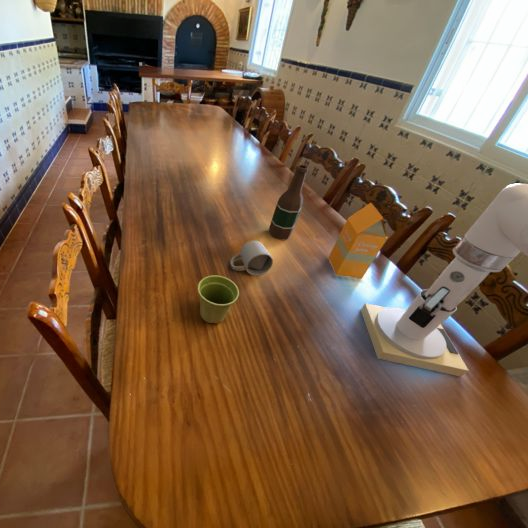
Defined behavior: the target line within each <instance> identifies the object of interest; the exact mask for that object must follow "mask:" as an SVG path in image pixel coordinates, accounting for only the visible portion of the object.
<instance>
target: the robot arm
mask: <svg viewBox="0 0 528 528" xmlns="http://www.w3.org/2000/svg"><path fill="white" fill-rule="evenodd" d="M452 253H453V255H454V256H455V257H454V259H453V260H452V261H450V263H449V264H448V265H447V266H446V268H445V269H444V270H443V271H442V272H441V273H440V275H438V277H437V278H436V280H434V281H433V283H432V285H431V286H430V287H429V288H428V289H429V290H428V291H427V292H426V294H425V296H426V298H427V297H428V298H427V299H426V300H425V301H424V302H423V303H422V305H421V306H418V308H417V309H416V310H415V311H414V312H413V313H412V315H411V316H410V317H409V319H410V320H411V321H413V322H414V323H416V324H417V325H419V326H420V327H422V328H425V327H426V326H427V325H428V324H429V323H430V322H431V320H432V319H433V318H434V317H435V316H436V315H435V314H436V313H437V312H438V311H439V310H440V309H441V308H442V307H444V308H445V309H446V310H452V309H453V308H455V307H456V306H458V305H460V304H461V303H462V302H463V301H464V300H465V299H466V298H467V297H468V296H470V294H471V293H472V292H473V291H474V290H475V289H477V287H479V285H480V284H481V283H482V282H483V281H484V280H485V279H486V278H487V277H488V276H489V274H490V273H500V272H502V271H503V270H504V269H505V268H506V267H507V266H508V265H510V263H511V262H512V261H513V260H514V259H515V258H516V257H517V256H518V255H519V254H520V253H522V254H523V255H525V256H526V257H528V183H512V184H509V185H507V186H506V187H504V188H502V190H500V192H499V193H498V194H496V196H495V198H493V200H492V201H491V202H490V204H489V205H488V206H487V208H486V209H484V211H483V212H482V213H481V215H479V216H478V218H477V219H476V220H475V222H474V223H473V224H472V225H471V227H470V228H469V229H468V230H467V232H465V234H464V235H463V236H462V238H460V240H459V241H458V242H457V243H456V245H455V246H454V247H453V248H452ZM440 301H441V302H440ZM442 302H443V303H442ZM436 304H437V305H438V307H437V308H436V309H435V306H436Z"/></svg>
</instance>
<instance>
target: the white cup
mask: <svg viewBox="0 0 528 528" xmlns="http://www.w3.org/2000/svg"><path fill="white" fill-rule="evenodd" d="M428 290H429V288H426V289H421V291H420V292H419V293H418V294H417V296H416V297H415V298H414V299H413V301H412V302H411V303H410V304H409V306H408V308H407V309H405V310H406V312H405V313H404V314H403V316H402V317H401V318H400V320H399V321H398V322H397V328H398V329H399V331H400V332H401V333H402V334H404V335H405V336H406V337H408V338H410V339H413V340H418V341H420V340H423V339H424V338H426V337H427V336H428V335H429V334H430V333H431V332H432V331H433V330H435V329H436V328H437V327H438V326H439V325H440V324H441V325H442V324H443V323H444V322H445V321H446V320H447V319H448V318H450V317H451V316H452V315H453V314H454V313H455V312H456V311H457V310H458V307H457V306H458V305H457V306H456V307H455V308H453V309H452V310H446V309H445V308H444V307H442V308H441V309H440V310H439V311H438V312H437V313H436V314H435V315H436V316H435V317H434V318H433V319H432V320H431V322H430V323H429V324H428V325H427V326H426V327H425V328H422V327H420V326H419V325H417V324H416V323H414V322H413V321H411V320H410V319H409V317H410V316H411V315H412V313H413V312H414V311H415V310H416V309H417V308H418V306H421V305H422V303H423V302H424V301H425V300H426V299H427V298H428V297H427V298H426V296H425V294H426V292H427V291H428ZM440 302H441V301H440ZM442 303H443V302H442ZM437 307H438V305H437V304H436V306H435V309H436V308H437Z"/></svg>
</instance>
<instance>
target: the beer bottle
mask: <svg viewBox="0 0 528 528" xmlns="http://www.w3.org/2000/svg"><path fill="white" fill-rule="evenodd" d="M308 172H309V167H308V166H307V165H305V164H298V165H297V166H296V167H295V172H294V174H293V177H292V179H291V181H290V183H289V186H288V187H287V189H286V190H285V191H284V192H283V193H282V194H281V195H280V196H279V198H278V200H277V203H276V205H275V209H274V212H273V215H272V218H271V220H270V224H269V228H268V233H269V234H270V236H271V237H272V238H275V239H277V240H280V241H281V240H288V239H289V238H290V237H291V236H292V233H293V231H294V229H295V226H296V223H297V221H298V219H299V215H300V213H301V210H302V207H303V204H304V197H303V194H302V190H303V186H304V183H305V180H306V176H307V173H308Z"/></svg>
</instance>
